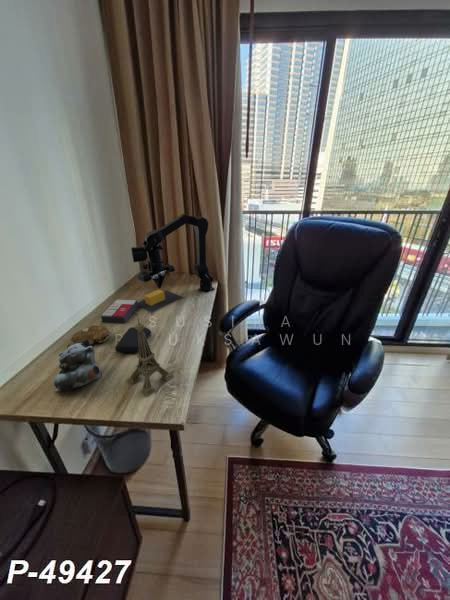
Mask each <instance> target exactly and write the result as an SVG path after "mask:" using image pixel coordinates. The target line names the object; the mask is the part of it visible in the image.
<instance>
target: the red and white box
mask: <svg viewBox="0 0 450 600" xmlns="http://www.w3.org/2000/svg"><path fill="white" fill-rule="evenodd" d="M138 303H139V302H138V300H133V299H116V300H115V301H114V302H113V303H112V304H111V305H110V306H109V307H108V308H107V309H106V310H105V311H104V312H103V313H102V314H101V315H100V318H101V321H102V323H114V324H116V323H117V324H125V323H126V322H127V321H128V320H129V319H130V317H131V316H132V315H133V313H134V312H135V311H136V310H137V309H138V308H139V307H140V306H138Z"/></svg>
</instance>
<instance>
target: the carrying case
mask: <svg viewBox="0 0 450 600" xmlns="http://www.w3.org/2000/svg"><path fill="white" fill-rule="evenodd" d="M135 327H136V326H135ZM135 327H129V328H128V329H127V330H126V332H125V333H124V335H123V336H122V337H121V338H120V340H119V341H118V342H117V343H116V345H115V347H114V350H115V351H116V352H118V353H129V354H130V353H131V354H135V353H139V342H138V330H137V329H135ZM143 331H144V333H145V336H146V339H147V340H148V338H149V337H152V330H151V329H150V328H148V327H145V328H143Z"/></svg>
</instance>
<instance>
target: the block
mask: <svg viewBox="0 0 450 600" xmlns="http://www.w3.org/2000/svg"><path fill="white" fill-rule="evenodd" d="M164 291H165V290H164ZM164 291H163V290H161V289H156V290H154V291H152V292H149V293H147V294H145V295H144V296H143V297H144V300H145V302H146V304H148V305H150V306H152V305H154V304H156V303H158V302H161V301H163V300H165V294H164Z"/></svg>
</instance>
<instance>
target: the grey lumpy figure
mask: <svg viewBox="0 0 450 600" xmlns="http://www.w3.org/2000/svg"><path fill="white" fill-rule="evenodd" d="M95 354H96V352H95V348H94V346H93V345H91V344H90V343H89V341H88V340H85V341H84V342H83V343H74V344H73V343H69V344H68V345H67V347H66V348H65V349H64V350H61V351H60V353H58V356H59V358H58V368H59V369H60V370H59V372H58V374H57V375H56V376H55V378H54V380H53V386H54V387H55V390H54V391H53V393H59V392H62V391H68V390H74V389H76V388H79V387H83V386H86V385H87V384H89V383H91V382H93V381H96V380H98V379H100V378H102V376H103V374H102V372H101V369H100V367H99V366H98V364H97V362H96V355H95Z"/></svg>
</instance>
